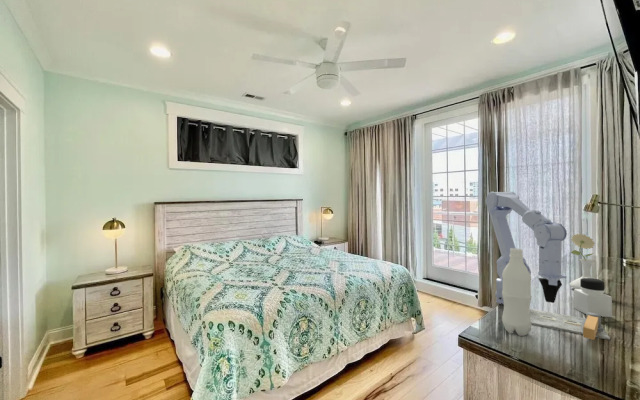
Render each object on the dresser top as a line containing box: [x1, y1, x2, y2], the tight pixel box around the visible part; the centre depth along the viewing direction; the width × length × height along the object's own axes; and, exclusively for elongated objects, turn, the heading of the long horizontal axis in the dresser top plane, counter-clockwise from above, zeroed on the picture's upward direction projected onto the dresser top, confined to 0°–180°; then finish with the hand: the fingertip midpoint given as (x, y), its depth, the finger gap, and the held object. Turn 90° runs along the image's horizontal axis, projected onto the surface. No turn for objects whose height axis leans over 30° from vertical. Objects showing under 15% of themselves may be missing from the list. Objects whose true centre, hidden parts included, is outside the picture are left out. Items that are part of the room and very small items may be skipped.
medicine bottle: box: [573, 277, 613, 318], centre depth 97 cm, size 7×7×12 cm
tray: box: [529, 308, 611, 341], centre depth 89 cm, size 18×14×1 cm
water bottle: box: [501, 247, 532, 337], centre depth 83 cm, size 7×7×25 cm
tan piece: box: [582, 312, 602, 341], centre depth 81 cm, size 16×3×3 cm, turn 131°
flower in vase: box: [569, 233, 606, 293], centre depth 122 cm, size 13×11×25 cm
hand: (549, 301), depth 90 cm, fingers closed
